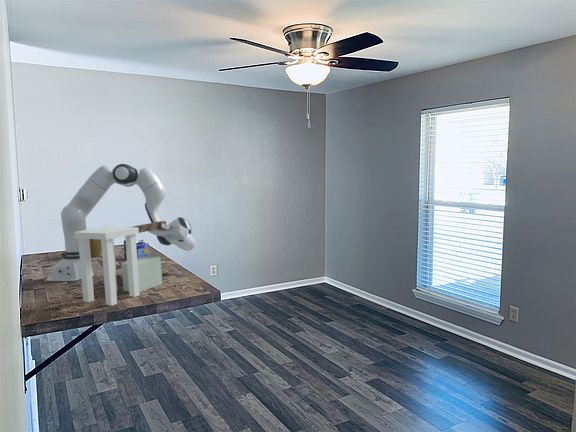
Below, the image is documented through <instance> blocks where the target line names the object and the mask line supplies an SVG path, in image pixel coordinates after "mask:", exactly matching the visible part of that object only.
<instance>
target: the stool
mask: <svg viewBox="0 0 576 432" xmlns="http://www.w3.org/2000/svg"><path fill="white" fill-rule="evenodd" d="M137 234H140V233H139V229H138V227H133V226H102V227H96V228H91V229H87V230H84V231H78V232H74V238H78V243H79V255H80V267H81V279H80V280H81V289H82V299H83V300H82V302H83V303H87V302H89V303H91V301H92V302H95V294H94V293H95V292H94V282H93V281H94V278H93V276H92V270H93V267H92V266H93V265H92V257H91V253H90V241H89V239H101V246H102V251H101V255H102V269H103V279H104V280H103V281H104V282H103V283H104V293H105V294H104V295H105V297H104V298H105V305H106V306H111V307H112V306H114V305H117V304H118V295H117V293H118V281H117V279H118V278H117V268H116V265H117V264H116V254H115V252H116V251H115V241H114V239H117V238H121V237H125V241H126V255H127V260H126V262H127V269H128V283H129V291H128V294H129V297H132V298H133V297H134V298H135V297H136V298H137V297H139V296H140V293H141V292H139V278H138V264H137V250H136V244H137V239H136V238H137V237H136V235H137Z"/></svg>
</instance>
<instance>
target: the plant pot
mask: <svg viewBox="0 0 576 432" xmlns="http://www.w3.org/2000/svg"><path fill="white" fill-rule="evenodd" d="M89 241H90V253H91V258H96V257H95V256H98V257H100V256H101V255H102V246H101V239H89Z"/></svg>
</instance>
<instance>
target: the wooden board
mask: <svg viewBox="0 0 576 432" xmlns="http://www.w3.org/2000/svg"><path fill="white" fill-rule="evenodd" d="M160 223H163V224H165V225H167V221H166V220H160V221H159V222H154V223H151V222H149V223H144V224H138V225H134V226H132V227H138V229H139V233H138V234H141V233H145V232H148V231H151V230H155V229H160V228H161V227H160Z"/></svg>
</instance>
